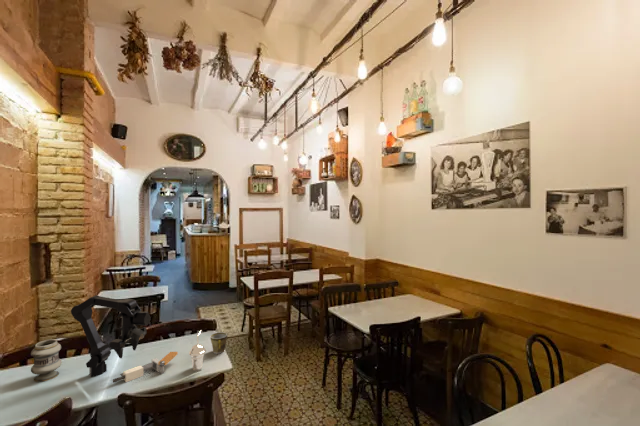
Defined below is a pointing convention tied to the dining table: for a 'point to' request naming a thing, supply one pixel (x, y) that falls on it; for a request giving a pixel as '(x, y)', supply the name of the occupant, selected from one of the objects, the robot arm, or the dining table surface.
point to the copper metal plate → (167, 358)
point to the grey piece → (153, 365)
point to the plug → (130, 374)
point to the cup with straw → (197, 355)
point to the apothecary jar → (46, 360)
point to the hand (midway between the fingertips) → (127, 354)
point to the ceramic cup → (218, 342)
